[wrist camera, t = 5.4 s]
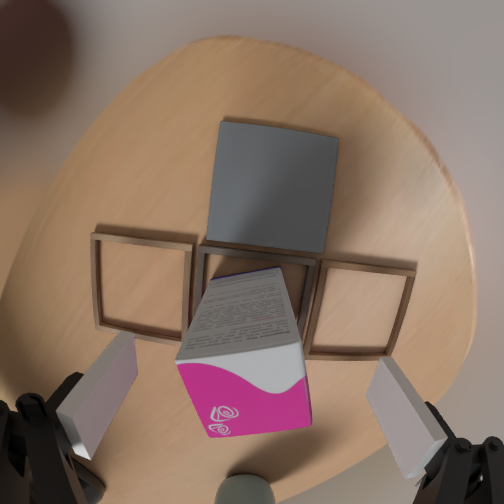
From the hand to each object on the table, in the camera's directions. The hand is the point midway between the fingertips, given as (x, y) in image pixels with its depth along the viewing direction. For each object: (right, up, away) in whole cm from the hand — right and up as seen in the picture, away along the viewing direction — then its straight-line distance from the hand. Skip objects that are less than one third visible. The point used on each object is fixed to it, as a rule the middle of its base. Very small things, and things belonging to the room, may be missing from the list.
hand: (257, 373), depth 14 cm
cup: (-1, -25, +15) cm, 29 cm away
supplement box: (0, +2, +10) cm, 10 cm away
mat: (+1, +11, +7) cm, 13 cm away
